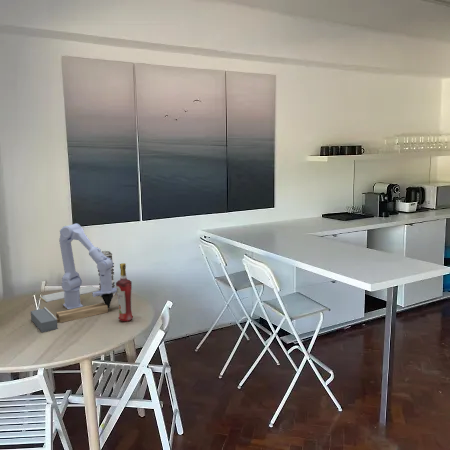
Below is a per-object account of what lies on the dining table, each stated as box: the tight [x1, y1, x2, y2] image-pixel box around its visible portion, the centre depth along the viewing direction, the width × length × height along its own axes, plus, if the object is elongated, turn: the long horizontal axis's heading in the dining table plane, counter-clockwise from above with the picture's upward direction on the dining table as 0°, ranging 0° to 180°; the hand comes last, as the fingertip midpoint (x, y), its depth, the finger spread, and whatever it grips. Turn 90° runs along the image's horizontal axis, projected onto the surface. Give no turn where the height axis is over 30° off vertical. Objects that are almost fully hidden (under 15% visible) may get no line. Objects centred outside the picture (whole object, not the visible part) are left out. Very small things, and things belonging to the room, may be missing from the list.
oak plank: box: [55, 302, 109, 324], centre depth 234 cm, size 6×28×4 cm, turn 125°
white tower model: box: [97, 250, 116, 297], centre depth 267 cm, size 9×9×25 cm
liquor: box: [115, 263, 134, 323], centre depth 227 cm, size 7×7×28 cm
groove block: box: [30, 306, 58, 333], centre depth 225 cm, size 20×7×5 cm, turn 35°
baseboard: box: [38, 285, 100, 303], centre depth 271 cm, size 31×3×12 cm
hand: (107, 307), depth 243 cm, fingers closed
